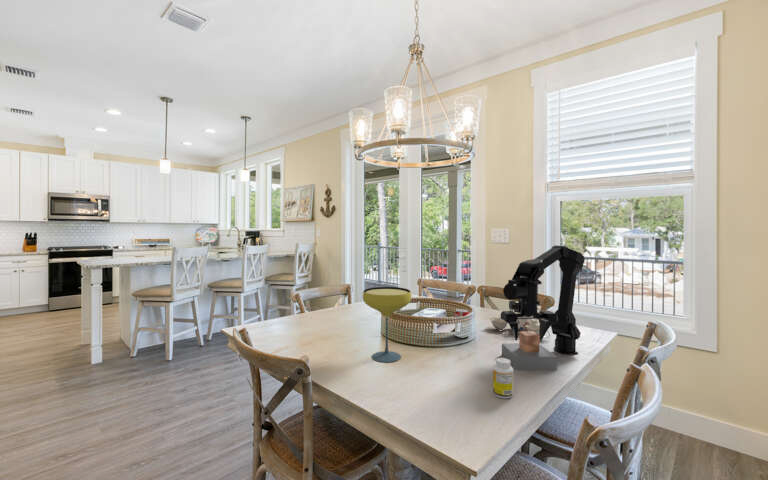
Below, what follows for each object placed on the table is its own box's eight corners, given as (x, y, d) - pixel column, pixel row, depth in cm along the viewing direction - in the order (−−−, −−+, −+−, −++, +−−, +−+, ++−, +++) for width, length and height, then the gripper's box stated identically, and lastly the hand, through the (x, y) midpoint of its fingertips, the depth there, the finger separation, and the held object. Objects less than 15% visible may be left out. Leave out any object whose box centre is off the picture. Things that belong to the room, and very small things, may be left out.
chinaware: (484, 333, 166) (483, 299, 164) (499, 323, 178) (498, 291, 176) (546, 347, 147) (546, 309, 145) (558, 334, 159) (557, 299, 158)
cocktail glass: (362, 367, 121) (362, 295, 120) (362, 349, 139) (362, 286, 138) (414, 366, 122) (414, 295, 121) (407, 348, 140) (407, 286, 139)
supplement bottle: (497, 388, 105) (497, 355, 105) (515, 394, 101) (516, 359, 101) (489, 395, 101) (490, 360, 100) (508, 401, 97) (509, 365, 97)
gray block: (537, 356, 133) (538, 343, 133) (556, 371, 119) (557, 356, 119) (501, 356, 133) (501, 343, 133) (516, 371, 119) (516, 357, 119)
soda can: (470, 339, 151) (470, 312, 150) (453, 338, 152) (453, 311, 152) (469, 334, 158) (469, 308, 157) (453, 333, 159) (453, 308, 159)
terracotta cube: (532, 347, 128) (532, 331, 128) (539, 352, 123) (539, 335, 123) (519, 347, 128) (519, 331, 128) (525, 352, 123) (526, 335, 123)
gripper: (542, 292, 134) (541, 333, 134) (495, 293, 133) (494, 333, 133) (558, 298, 123) (557, 342, 123) (507, 298, 122) (506, 343, 122)
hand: (528, 339), depth 126 cm, fingers open, 9 cm apart
